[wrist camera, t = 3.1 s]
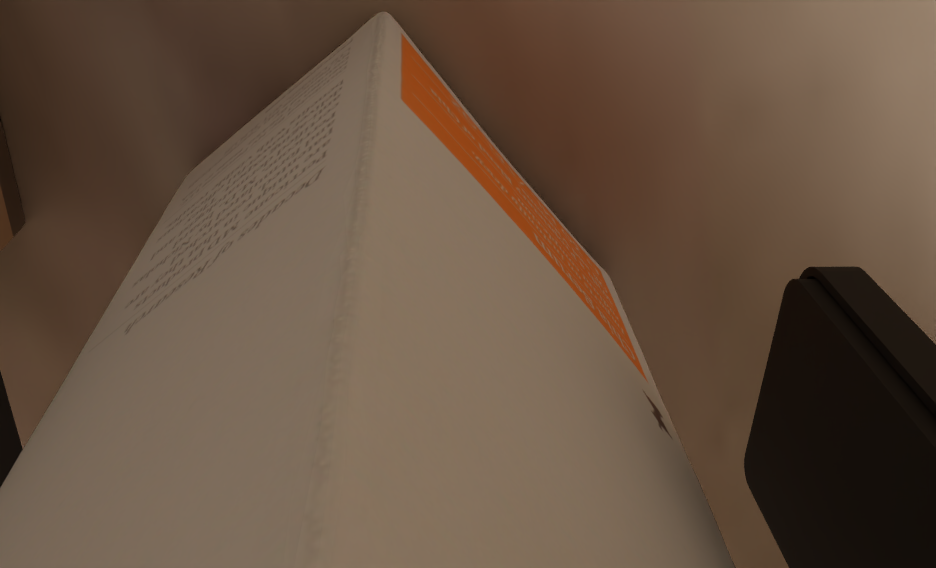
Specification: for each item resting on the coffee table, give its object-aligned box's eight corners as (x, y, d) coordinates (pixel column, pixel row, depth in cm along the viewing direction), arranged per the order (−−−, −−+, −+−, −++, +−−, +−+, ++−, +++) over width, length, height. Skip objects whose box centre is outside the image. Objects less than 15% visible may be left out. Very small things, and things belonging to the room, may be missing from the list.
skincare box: (617, 271, 15) (1113, 1377, 4) (426, 404, 16) (468, 1539, 6) (382, -14, 12) (267, 1005, 2) (173, 167, 14) (-603, 1428, 3)
